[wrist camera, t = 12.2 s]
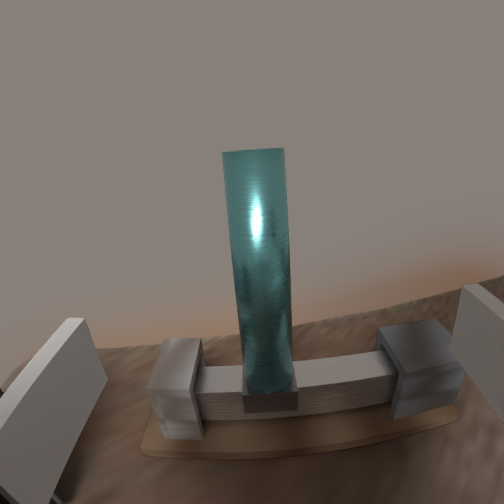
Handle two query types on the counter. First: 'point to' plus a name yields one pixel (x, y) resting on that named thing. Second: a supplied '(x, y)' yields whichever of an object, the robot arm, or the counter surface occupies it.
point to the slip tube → (276, 315)
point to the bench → (307, 426)
